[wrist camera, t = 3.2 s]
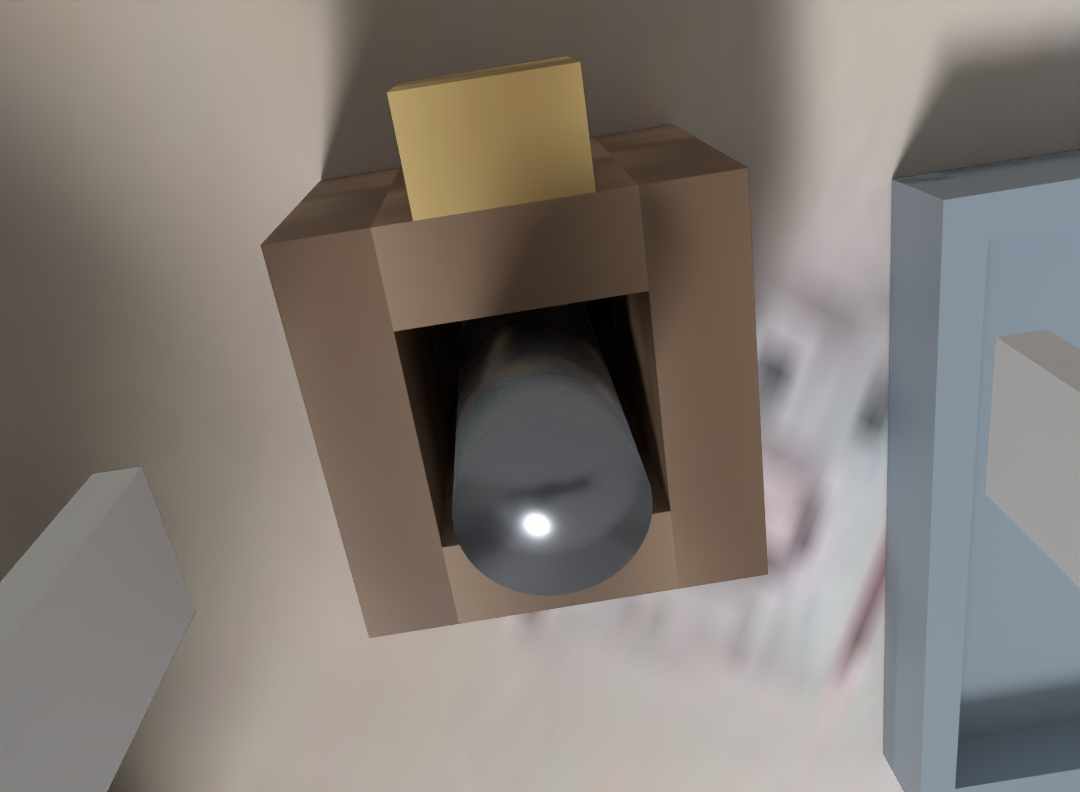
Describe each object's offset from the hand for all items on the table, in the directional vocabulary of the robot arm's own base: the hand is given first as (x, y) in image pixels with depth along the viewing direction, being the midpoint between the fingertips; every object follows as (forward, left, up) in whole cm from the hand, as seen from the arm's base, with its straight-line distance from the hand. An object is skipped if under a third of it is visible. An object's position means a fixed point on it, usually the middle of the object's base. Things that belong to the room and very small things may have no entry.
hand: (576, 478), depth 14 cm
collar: (0, 0, -8) cm, 8 cm away
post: (0, 0, -8) cm, 8 cm away
